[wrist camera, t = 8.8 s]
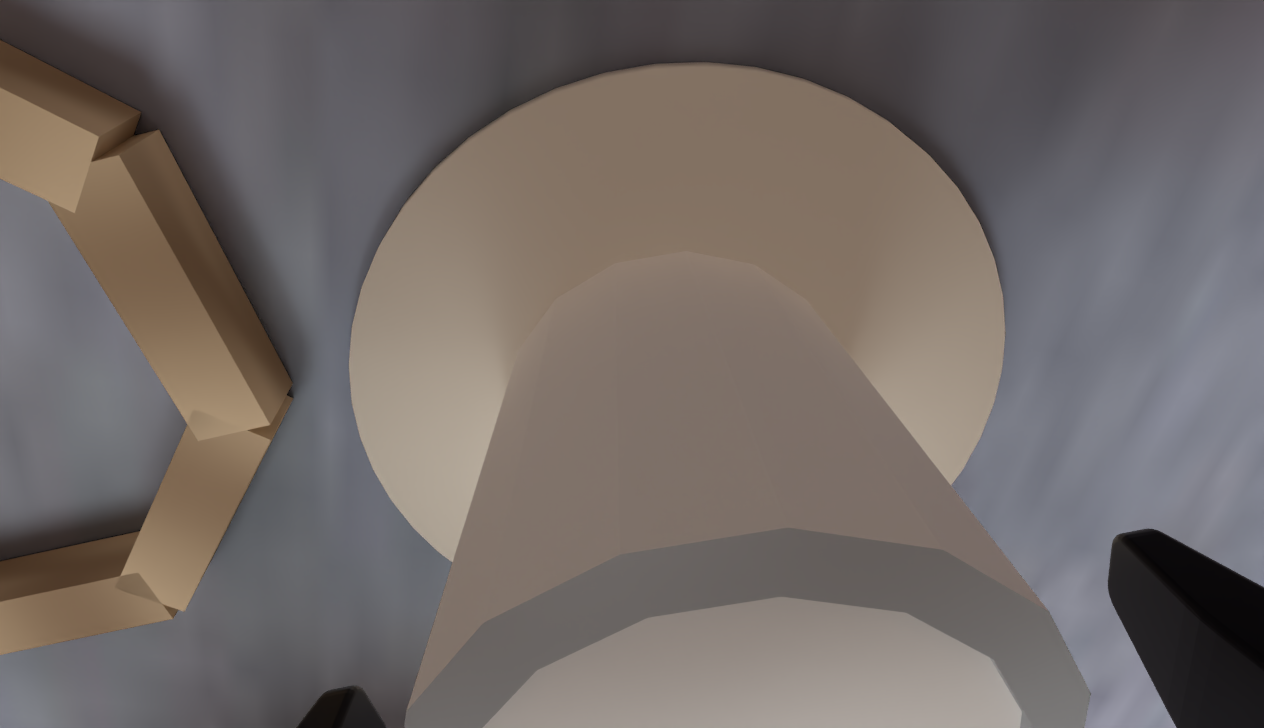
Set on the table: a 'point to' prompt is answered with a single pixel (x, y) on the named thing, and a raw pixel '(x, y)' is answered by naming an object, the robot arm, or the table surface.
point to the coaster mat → (663, 224)
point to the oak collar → (168, 337)
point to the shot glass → (723, 536)
